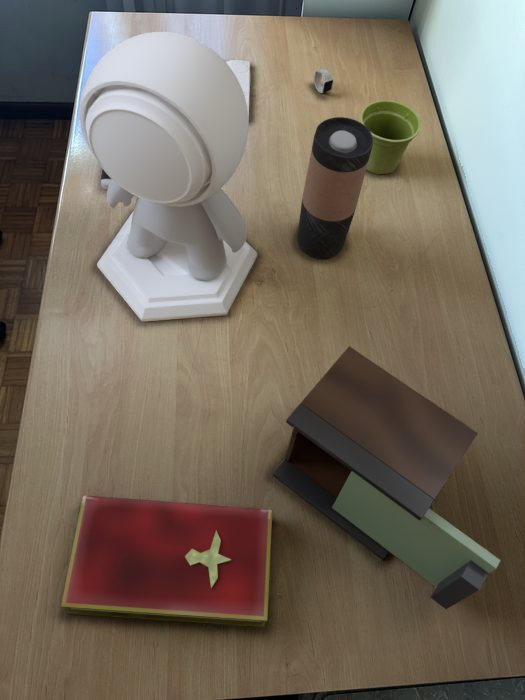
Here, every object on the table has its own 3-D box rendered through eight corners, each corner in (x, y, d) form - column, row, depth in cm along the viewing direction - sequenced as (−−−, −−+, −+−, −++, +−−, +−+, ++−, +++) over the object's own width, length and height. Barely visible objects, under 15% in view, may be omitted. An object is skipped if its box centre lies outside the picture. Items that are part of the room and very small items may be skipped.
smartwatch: (310, 85, 119) (313, 66, 115) (320, 82, 120) (323, 62, 116) (321, 97, 117) (325, 78, 114) (331, 94, 118) (335, 75, 115)
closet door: (440, 612, 72) (486, 586, 61) (322, 521, 77) (343, 480, 65) (454, 590, 74) (501, 560, 62) (336, 501, 78) (360, 457, 66)
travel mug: (355, 248, 100) (386, 144, 83) (315, 269, 97) (338, 166, 80) (325, 215, 103) (349, 108, 86) (285, 234, 100) (301, 128, 83)
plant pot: (390, 191, 107) (404, 149, 99) (340, 165, 109) (350, 123, 101) (415, 158, 111) (431, 116, 104) (366, 134, 113) (378, 91, 106)
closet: (382, 560, 76) (421, 518, 62) (272, 475, 80) (286, 419, 67) (431, 486, 81) (478, 433, 67) (325, 410, 85) (349, 345, 72)
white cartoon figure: (76, 296, 91) (16, 76, 62) (152, 187, 103) (131, -43, 73) (209, 347, 89) (213, 144, 59) (271, 229, 101) (300, 9, 71)
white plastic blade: (218, 119, 112) (218, 113, 111) (222, 63, 120) (222, 58, 119) (248, 121, 112) (249, 115, 112) (250, 65, 120) (250, 60, 119)
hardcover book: (88, 503, 77) (83, 491, 73) (269, 517, 78) (272, 505, 74) (67, 613, 70) (60, 606, 67) (264, 626, 71) (267, 620, 68)
